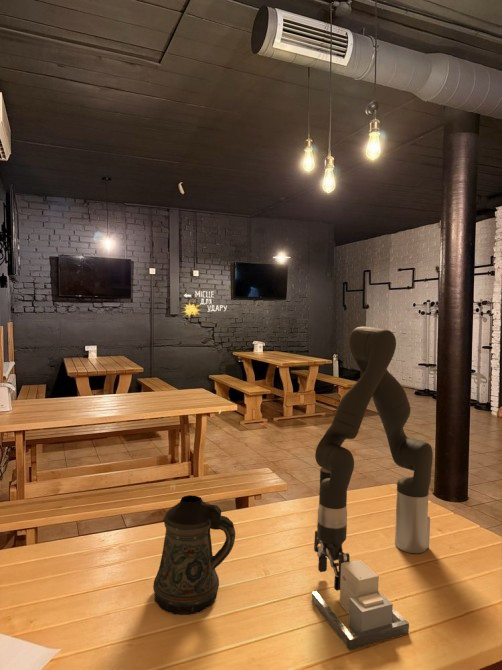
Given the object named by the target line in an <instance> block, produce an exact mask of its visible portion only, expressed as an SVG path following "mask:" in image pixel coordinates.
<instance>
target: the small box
mask: <svg viewBox="0 0 502 670" xmlns="http://www.w3.org/2000/svg"><path fill="white" fill-rule="evenodd" d="M379 576H380V575H378V574H377V573H375V572H374V571H373V570H372V568H370V567H369V566H368V565H366V563H364V562H363V561H362V560H361V559H355V560H350V562H344V563H341V581H340V590H339V605H340V606H341V607H342V608H343V609H344V611H346V613H347V614H349V603H350V598H353V597H357V596H361V595H365V594H369V593H374V592H378V591H379V585H380V584H379V580H380V579H379V578H380V577H379Z"/></svg>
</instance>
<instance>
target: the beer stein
mask: <svg viewBox="0 0 502 670" xmlns="http://www.w3.org/2000/svg"><path fill="white" fill-rule="evenodd" d="M163 523H164V524H163V525H164V528H165V534H164V540H163V545H162V552H161V553H162V554H161V558H160V563H159V567H158V571H157V573H156V575H155V578H154V580H153V585H152V586H153V593H154V603H156V605H157V606H158V607H159V609H161V610H162V611H164V612H167V613H169V614H172V615H175V616H179V615H180V616H192V615H195V614H197V613H202V612H203V611H205V610H207V609H208V608H210V607H212V605H213V603H214V602H215V601H216V600H217V597H218V596H217V595H218V592H219V591H218V590H219V587H220V580H219V576H218V573H217V569H216V568H217V567H219V566H220V565H221V564H222V563H223V562H224V561H225V560H226V558H227V557H228V556H229V555H230V553H231V551H232V550H233V547H234V546H235V541H236V529H235V527H234V526H235V524H234V522H233V521H232V520H231V519H229V517H228V516H225V515H222V510H221V508H220V507H219V506H218V504H217V505H216V504H209V503H206V502H205V501H204V500H203V499H202V497H200V496H198V495H184V496H183V497H181V499H180V500H179V502H178V503H177V504H175V505H173V506H172V507H171V508H169V509H168V510H167V511H166V513H165V514H164V516H163ZM211 530H214V531H215V530H217V531H218V530H221V531H222V532H224V535H225V541H224V543H223V545H222V547H221V548H220V549H219V550H218V551H217V552H216V553H215V554H214V555H213V547H212V538H211V537H212V536H211Z"/></svg>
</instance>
